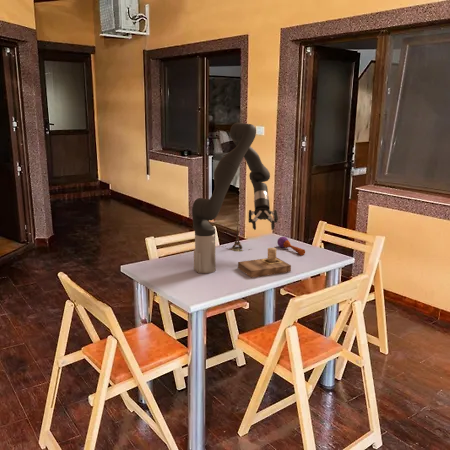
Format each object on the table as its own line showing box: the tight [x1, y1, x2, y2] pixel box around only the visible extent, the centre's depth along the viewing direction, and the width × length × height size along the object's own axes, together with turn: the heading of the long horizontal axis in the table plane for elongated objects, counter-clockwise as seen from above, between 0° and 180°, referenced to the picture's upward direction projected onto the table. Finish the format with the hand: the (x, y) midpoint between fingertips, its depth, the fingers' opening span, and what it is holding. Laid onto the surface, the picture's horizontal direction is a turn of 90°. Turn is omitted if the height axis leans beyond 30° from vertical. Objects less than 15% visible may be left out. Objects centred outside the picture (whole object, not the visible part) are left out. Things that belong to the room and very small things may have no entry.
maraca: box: [277, 236, 306, 256], centre depth 250 cm, size 6×6×20 cm
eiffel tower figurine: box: [225, 224, 252, 252], centre depth 254 cm, size 15×10×13 cm
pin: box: [267, 247, 277, 263], centre depth 222 cm, size 4×4×9 cm
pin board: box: [237, 256, 292, 279], centre depth 219 cm, size 20×14×3 cm
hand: (263, 229), depth 232 cm, fingers open, 8 cm apart
